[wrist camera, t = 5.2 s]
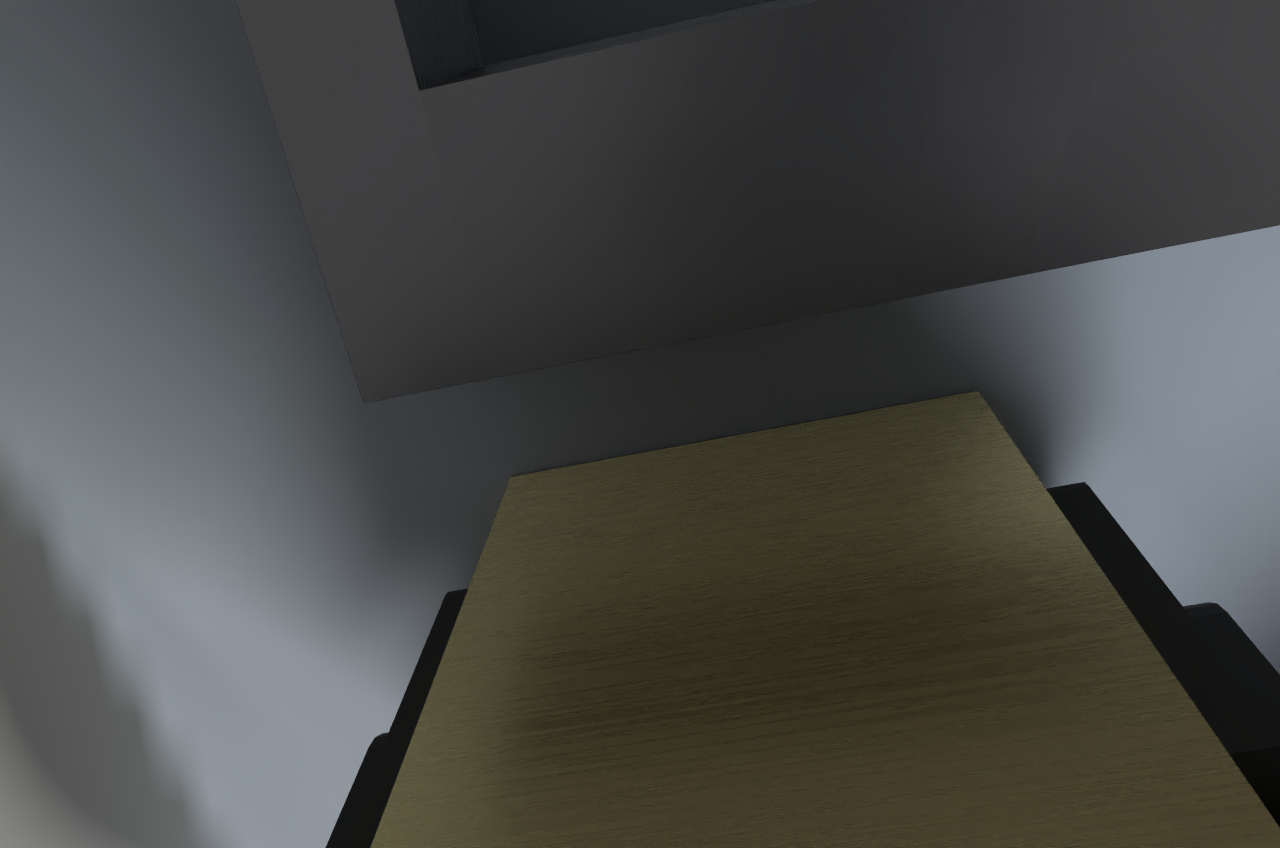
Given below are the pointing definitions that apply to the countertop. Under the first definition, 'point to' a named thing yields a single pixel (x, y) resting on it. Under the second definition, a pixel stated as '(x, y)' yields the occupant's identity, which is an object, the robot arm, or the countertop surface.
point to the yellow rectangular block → (808, 661)
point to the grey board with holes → (746, 163)
